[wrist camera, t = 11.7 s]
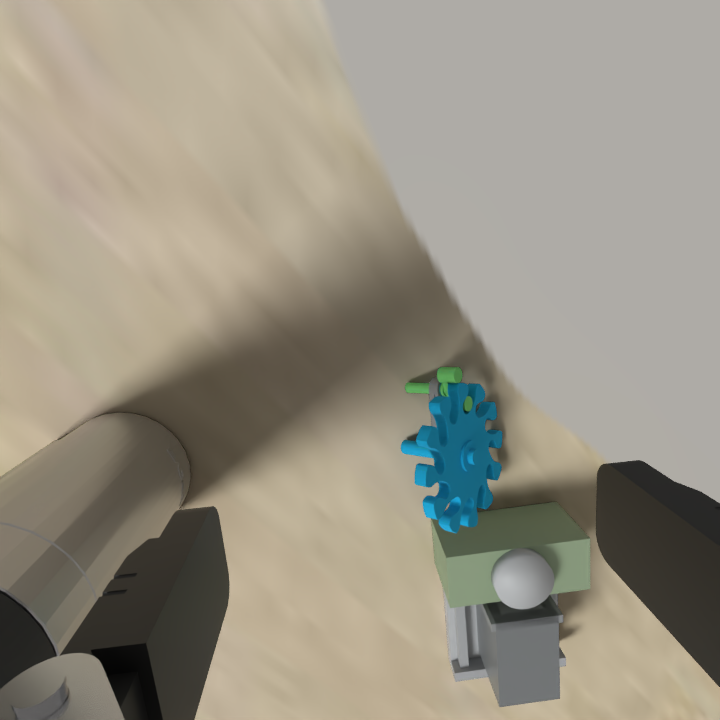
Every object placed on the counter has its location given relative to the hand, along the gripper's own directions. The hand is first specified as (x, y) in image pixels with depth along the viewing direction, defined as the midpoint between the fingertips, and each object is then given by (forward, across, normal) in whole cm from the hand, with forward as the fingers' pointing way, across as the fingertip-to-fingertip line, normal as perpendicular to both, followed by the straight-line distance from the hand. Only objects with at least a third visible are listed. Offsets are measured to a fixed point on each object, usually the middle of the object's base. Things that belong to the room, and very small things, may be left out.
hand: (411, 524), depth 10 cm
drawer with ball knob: (+24, -10, +21) cm, 34 cm away
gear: (+25, -6, +8) cm, 27 cm away
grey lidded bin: (+23, -10, +23) cm, 34 cm away
